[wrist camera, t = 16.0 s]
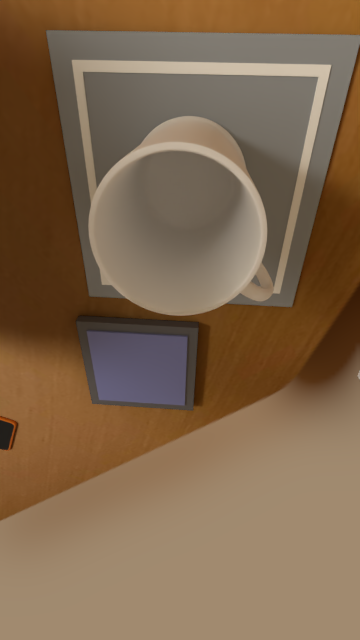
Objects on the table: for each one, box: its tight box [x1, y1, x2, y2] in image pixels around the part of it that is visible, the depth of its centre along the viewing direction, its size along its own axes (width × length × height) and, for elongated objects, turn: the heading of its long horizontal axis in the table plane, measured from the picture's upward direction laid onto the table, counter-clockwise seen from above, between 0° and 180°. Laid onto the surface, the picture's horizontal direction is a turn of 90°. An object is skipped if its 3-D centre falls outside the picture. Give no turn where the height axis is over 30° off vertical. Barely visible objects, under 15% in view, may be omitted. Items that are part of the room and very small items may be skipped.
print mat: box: [46, 30, 360, 307], centre depth 25 cm, size 19×19×1 cm
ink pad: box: [76, 316, 199, 410], centre depth 35 cm, size 12×12×1 cm
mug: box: [88, 116, 274, 316], centre depth 20 cm, size 12×8×12 cm
